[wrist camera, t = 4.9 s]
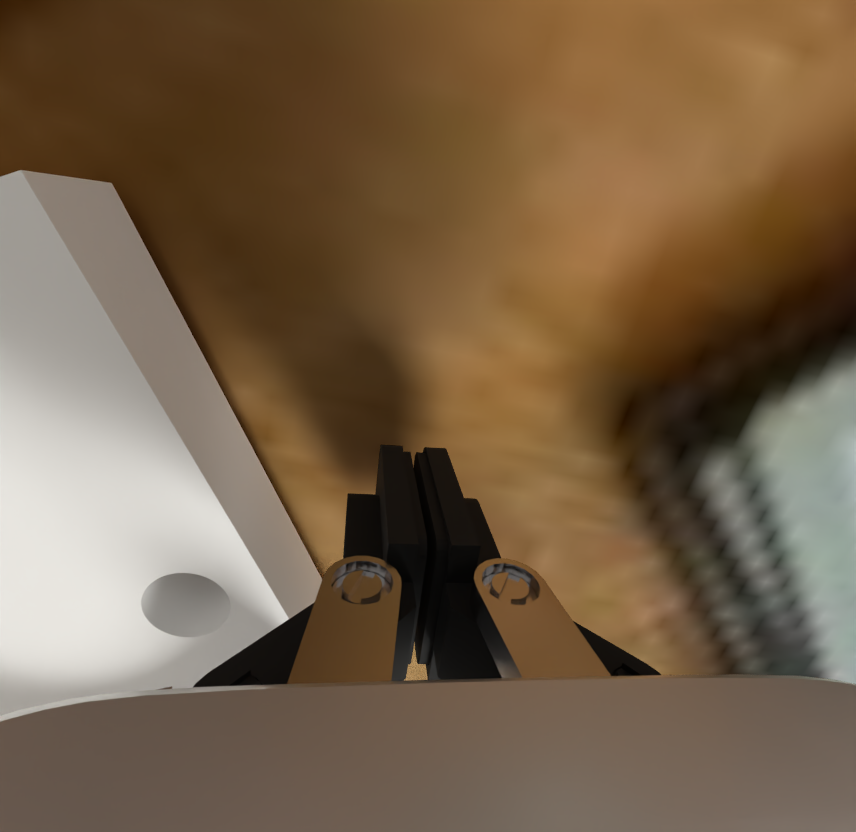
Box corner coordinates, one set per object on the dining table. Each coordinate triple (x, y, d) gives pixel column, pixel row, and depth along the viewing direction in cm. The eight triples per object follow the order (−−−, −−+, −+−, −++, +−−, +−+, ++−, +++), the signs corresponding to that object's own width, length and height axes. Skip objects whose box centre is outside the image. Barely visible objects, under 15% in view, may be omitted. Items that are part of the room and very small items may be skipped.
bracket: (353, 614, 15) (343, 946, 8) (147, 682, 15) (-37, 1069, 8) (133, 186, 10) (-406, 109, 3) (-180, 293, 10) (-1423, 462, 3)
